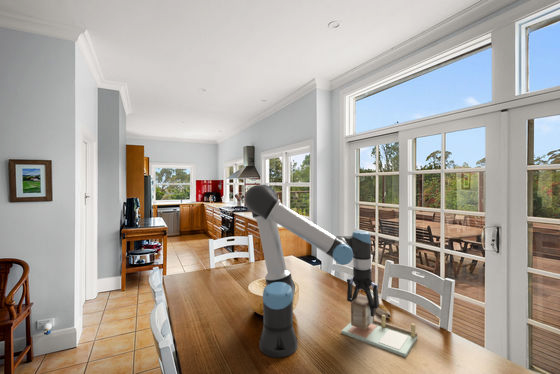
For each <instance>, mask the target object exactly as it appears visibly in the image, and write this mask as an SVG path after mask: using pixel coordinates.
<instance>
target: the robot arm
mask: <svg viewBox="0 0 560 374" xmlns="http://www.w3.org/2000/svg"><path fill="white" fill-rule="evenodd" d="M244 202H245V203H244V204H245V206H246V208H247V209H248V210H249V211H250V212H251V216H252V218H253V219H254V220H256V223H257V227H258V232H259V236H260V237H259V238H260V242H261V247H262V252H263V256H264V257H263V258H264V262H265V266H266V271H267V273H266V275H265V276H264V279H265V283H266V286H265V287H264V288H263V291H262V305H263V306H262V308H263V309H262V310H263V313H262V314H263V316H262V317H263V328H262V331H261V334H260V338H259V342H258V343H259V344H258V345H259V350H260V352H261V351H262V352H263V353H262V352H261V353H262V354H264V355H265V356H268V357H271V358H285V357H288V356H291V355H293V354H294V353H295V352H296V351H297V350H298V347H299V345H298V344H299V343H298V338H297V335H296V333H295V328H294V322H293V321H294V320H293V319H294V317H293V316H294V315H293V314H294V310H293V309H294V307H293V306H294V298H295V294H296V293H295V292H296V286H295V282H294V280H293V277H292V272H291V270H289V269H287V265H286V260H285V257H284V251H283V246H282V241H281V237H280V231H279V227H278V226H281V227H282V228H284V229H285V230H287V231H288V232H290V233H291V234H294V235H295V236H297V237H299V239H301V240H303V241H305V242H306V243H308V244H310V245H311V246H313V247H314V248H317V249H318V250H320V251H321V252H322V253H325V254H326V255H327V256H329V257H330V258H332V259H333V260H334V262H336V263H337V264H338V265H341V266H345V265H348V264H350V263H351V262H352V266H353V268H352V270H353V271H352V275H353V277H352V278H351V277H349V278H347V279H346V282H347V291H346V292H347V293H346V300H347V302H350V303H351V301H353V300H354V299H355V298H357V297H358V296H359V293H360V290H362V291H364V293H365V296H367V299H368V303H369V306H370V308H369V309H368V320H369V324H371V323H372V322H373V316H374V317H375V312H376V310H375V309H377V308H378V307H379V304H380V302H379V301H380V300H379V286H380V285H379V284H378V283H375V282H373V280H372V250H371V249H372V241H371V234H370V232H369V231H365V230H355V231H353V232H352V234H351V235H350V236H348V235H347V236H345V235H344V236H343V235H342V236H341V235H340V236H339V235H333V234H331V233H330V232H329V231H327V230H325V229H324V228H322V227H320V226H318V225H317V224H315V223H314V222H313V221H310V220H308V219H307V218H305V217H303V216H302V215H300V214H298V213H297V212H296V211H294V210H292V209H291V208H289V207H288V206H286V205H284V204H282V202H281V199H280V198H278V197H277V194H276V192H275V189H273V187H271V186H270V185H267V184H255V185H252V186H250V188H248V189H247V191H246V192H245V195H244ZM353 285H355V287H354V286H353ZM353 287H354V290H353ZM371 288H372V291H371ZM372 297H373V298H372ZM373 299H374V301H373Z"/></svg>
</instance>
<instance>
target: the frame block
mask: <svg viewBox="0 0 560 374" xmlns="http://www.w3.org/2000/svg"><path fill="white" fill-rule="evenodd" d="M372 298H373V296H372ZM373 301H374V299H373ZM369 308H370V306H369V303H368V299H367V296H366V294H358V296H357V298H355V299H354V300H353V301H351V302H350V323H351V325H352V326H355V327H358V328H361V329H364V330H365V329H366V328H367V327H368V326H369V325H370V324H369V320H368V309H369ZM374 319H375V315H374V316H373V321H374Z"/></svg>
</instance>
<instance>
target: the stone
mask: <svg viewBox="0 0 560 374" xmlns="http://www.w3.org/2000/svg"><path fill="white" fill-rule="evenodd" d="M375 312H376V314H378V315H379V316H380V317H382V315H385V316H386V319H390V318H392V317H391V312H390V309H388V308H387V307H386V306H385V305H383V304H382V303H379V307H378V308H377V309H375Z"/></svg>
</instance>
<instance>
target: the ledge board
mask: <svg viewBox="0 0 560 374" xmlns="http://www.w3.org/2000/svg"><path fill="white" fill-rule="evenodd" d="M386 319H387V318H386V316H385V315H382V316H381V320H379V319H376V318H374V321H373V322H372V323H371V324H370V325H369V326H368V327H367V328H366V329H365V330H364V329H361V328H358V327H355V326H352V325H351V322H349V323H348V324H347V325H346V326H345V327H344V328H342V329H341V334H343V335H345V336H349V337H351V338H353V339H355V340H358V341H360V342H361V341H362V342H364V343H366V344H369V345H372V346H373V347H374V346H375V347H377V348H380V349H383V350H386V351H388V352H391V353H393V354H397V355H398V356H401V357H404V358H407V356H408V354H409V353H410V351H411V349H412V348H413V346H414V344H415V343H416V341H417V340H418V332H417V331H416V324H415V323H412V322H411V324H410V329H407V328H404V327H401V326H397V325H394V324H391V323H388V322H386Z"/></svg>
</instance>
